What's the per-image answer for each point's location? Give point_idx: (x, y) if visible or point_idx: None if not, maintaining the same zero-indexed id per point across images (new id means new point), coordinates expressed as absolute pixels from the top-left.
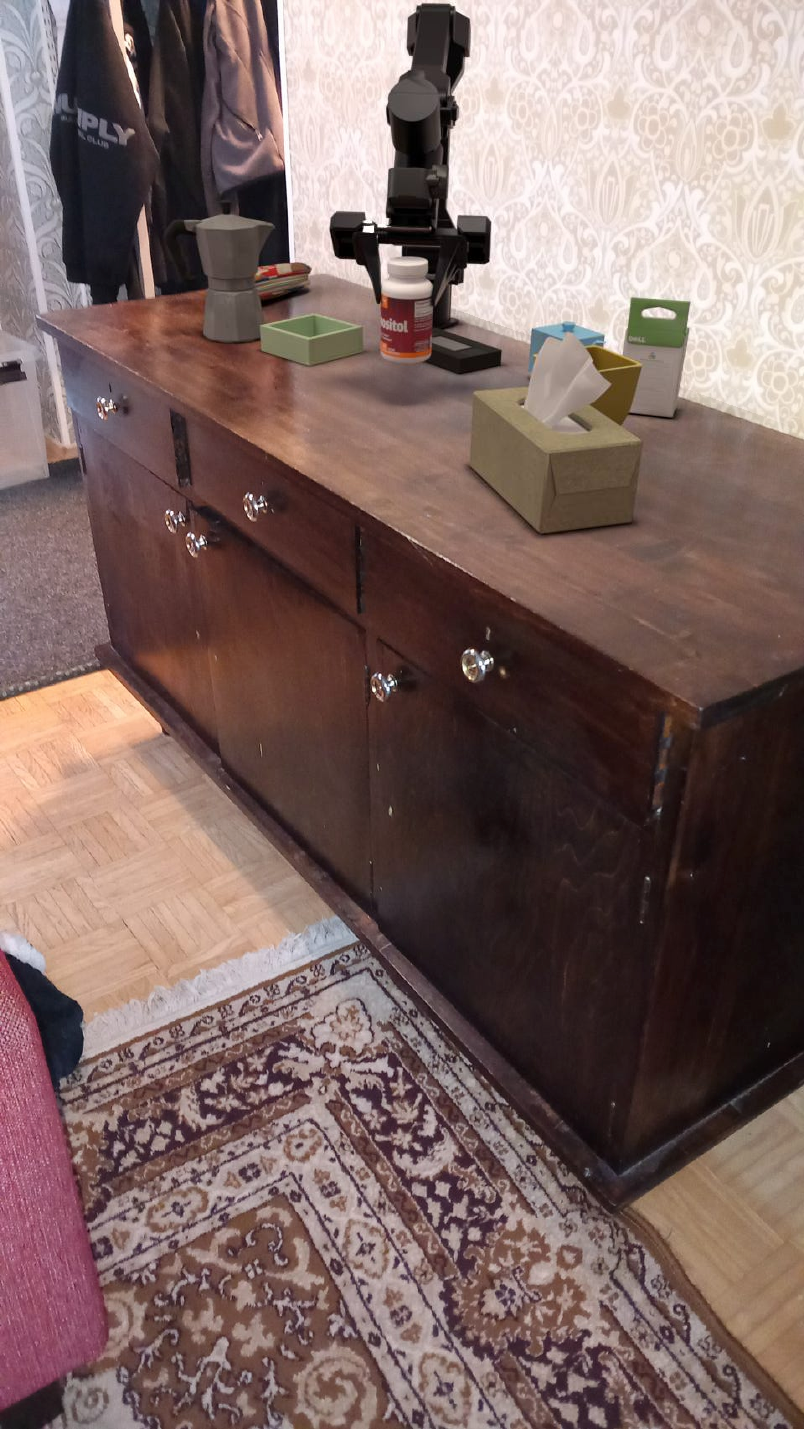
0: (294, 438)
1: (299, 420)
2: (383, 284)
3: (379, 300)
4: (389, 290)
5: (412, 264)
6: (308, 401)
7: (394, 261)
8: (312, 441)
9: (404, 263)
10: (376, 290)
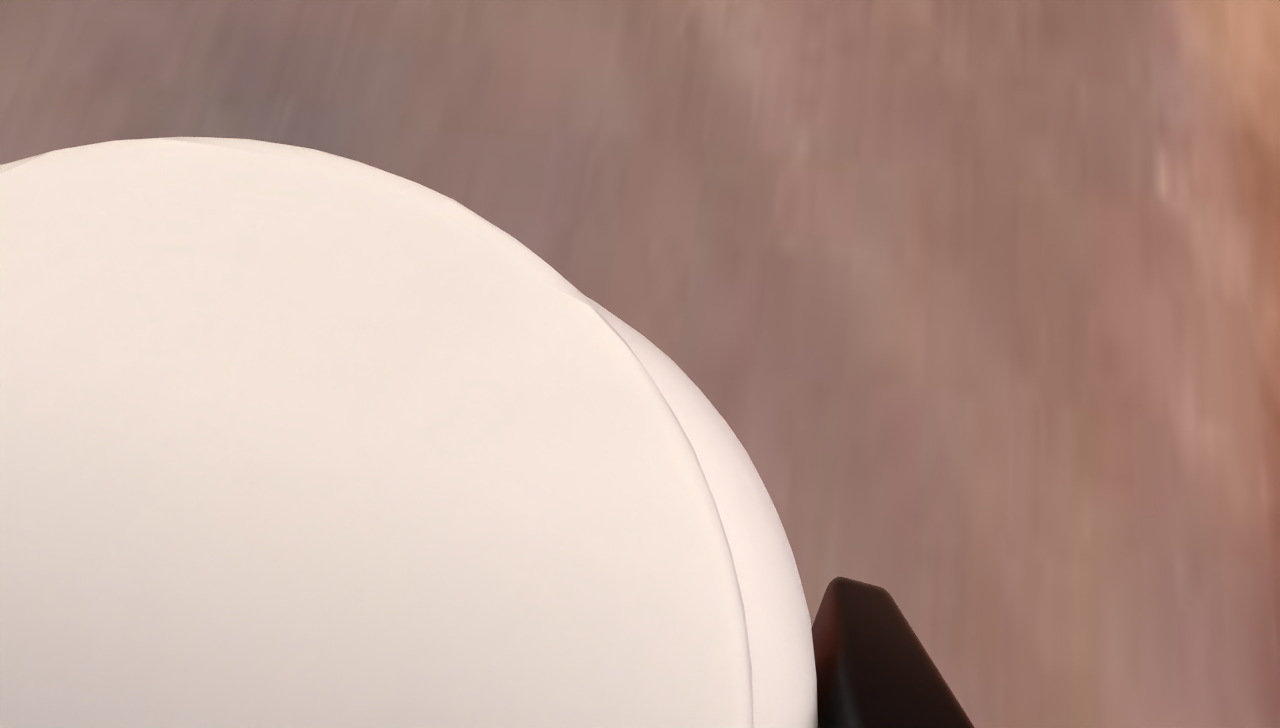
0: (1234, 65)
1: (1224, 346)
2: (791, 653)
3: (826, 591)
4: (704, 396)
5: (127, 194)
6: (1185, 721)
7: (557, 635)
8: (1135, 13)
9: (316, 340)
10: (900, 661)
